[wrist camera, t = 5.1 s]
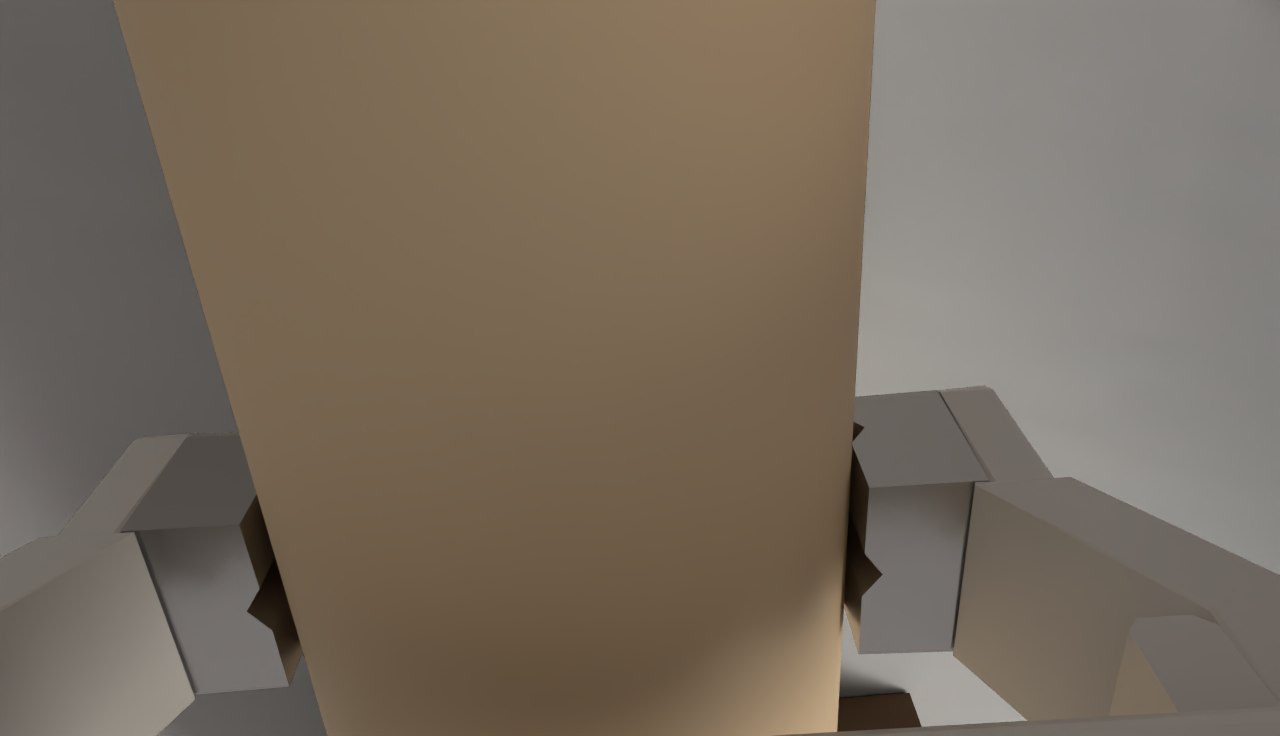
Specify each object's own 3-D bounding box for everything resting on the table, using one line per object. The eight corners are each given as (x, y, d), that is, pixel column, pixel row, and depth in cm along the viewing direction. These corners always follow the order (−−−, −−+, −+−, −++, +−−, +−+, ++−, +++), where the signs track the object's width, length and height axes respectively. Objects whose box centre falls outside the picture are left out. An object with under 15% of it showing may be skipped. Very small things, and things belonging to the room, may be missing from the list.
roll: (251, -97, 9) (-102, -23, 5) (809, -132, 9) (996, -94, 5) (428, 710, 14) (340, 1123, 9) (791, 689, 14) (873, 1096, 9)
